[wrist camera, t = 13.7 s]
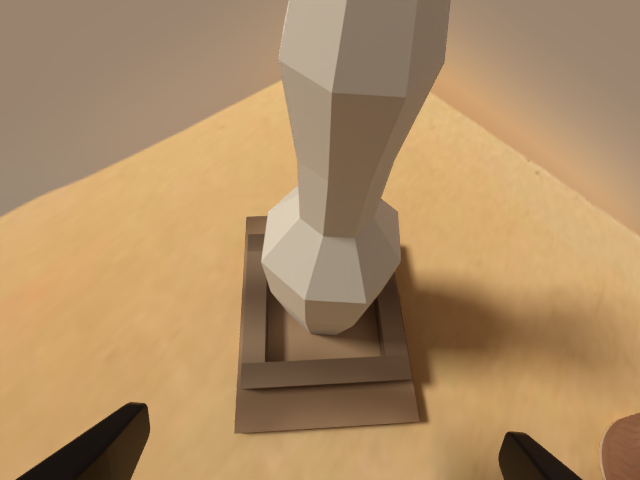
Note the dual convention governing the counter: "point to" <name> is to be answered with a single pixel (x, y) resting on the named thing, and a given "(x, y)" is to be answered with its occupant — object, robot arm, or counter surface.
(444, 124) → the counter surface
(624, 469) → the coffee cup
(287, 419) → the brown wooden tray
